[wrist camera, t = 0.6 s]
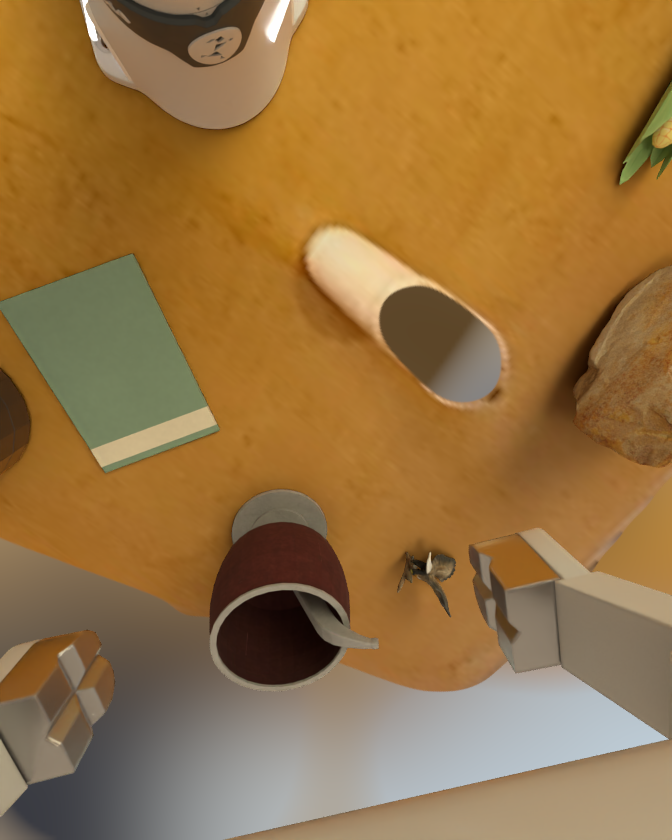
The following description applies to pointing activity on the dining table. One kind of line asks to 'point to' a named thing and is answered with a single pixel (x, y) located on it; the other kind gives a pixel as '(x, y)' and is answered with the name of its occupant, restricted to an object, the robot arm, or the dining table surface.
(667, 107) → the edible corn
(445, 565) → the eagle figurine
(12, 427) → the pan
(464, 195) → the dining table surface
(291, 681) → the mate gourd
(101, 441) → the tea towel
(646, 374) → the rough brown rock
